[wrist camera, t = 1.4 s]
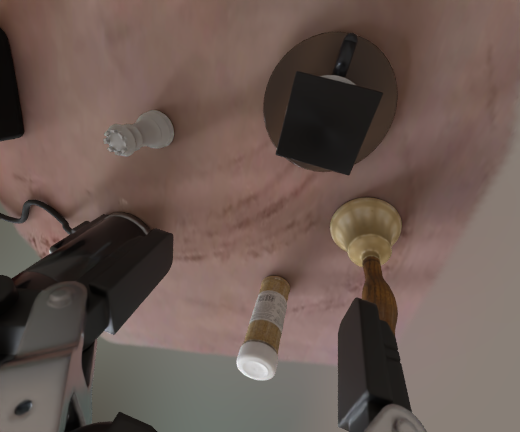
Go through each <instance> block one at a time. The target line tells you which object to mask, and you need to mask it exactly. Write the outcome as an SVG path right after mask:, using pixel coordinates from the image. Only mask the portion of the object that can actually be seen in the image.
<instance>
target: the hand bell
mask: <svg viewBox="0 0 520 432" xmlns="http://www.w3.org/2000/svg"><path fill="white" fill-rule="evenodd" d="M401 229H402V222H401V218H400V215H399V214H398V212H397V211H396V209H395V208H394V207H393V206H391V205H390V204H389V203H387V202H385V201H383V200H380V199H376V198H358V199H354V200H351V201H349V202H347V203H345V204H344V205H342V206H341V207H340V208H339V209H338V210H337V211H336V212H335V213H334V215H333V217H332V219H331V223H330V233H331V236H332V238H333V240H334V242H335V243H336V244H337V245H338V246H339V247H340V248H341V249H343V250H344V251H346V252H348V256H349V258H350V259H351V261H352V262H354V263H355V264H356V265H358V266H361V267H363V269H364V274H365V284H364V286H363V291H362V299H363V300H366V301H369V302H372V303H375V304H376V305H377V307H378V313H379V319H380V320H383V321H386V322H387V323H388V325H389V326H390V328H391V330H392V331H393V333H394V335H395V327H396V323H397V317H398V311H397V305H396V301H395V297H394V295H393V293H392V291H391V289H390V287H389V285H388V284H387V283H386V282H385V280H384V279H383V276H382V271H381V265H383V264H385V263H386V262H387V261H388V260H389V258H390V256H391V253H392V248H391V247H392V246H393V245H394V244H395V242H396V241H397V239H398V238H399V236H400V233H401Z"/></svg>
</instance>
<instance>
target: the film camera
mask: <svg viewBox="0 0 520 432" xmlns="http://www.w3.org/2000/svg"><path fill="white" fill-rule="evenodd" d="M23 134H24V131H23V123H22V115H21V109H20V103H19V97H18V90H17V85H16V79H15V73H14V67H13V62H12V58H11V52H10V47H9V43H8V38H7V36H6V35H5V33H4V31H3V30H2V29H1V28H0V141H4V140H10V139H15V138H19V137H21V136H22V135H23Z"/></svg>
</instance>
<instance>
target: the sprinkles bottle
mask: <svg viewBox="0 0 520 432" xmlns="http://www.w3.org/2000/svg"><path fill="white" fill-rule="evenodd" d="M289 292H290V286H289V284H288V282H287V281H286V280H284V279H283V278H281V277H279V276H269V277H266V278H265V279H264V280H263V281H262V283H261V289H260V292H259V295H258V298H257V301H256V304H255V307H254V310H253V313H252V317H251V320H250V323H249V327H248V330H247V333H246V337H245V341H244V343H243V344H242V346H241V348H240V351H239V354H238V357H237V366H238V369H239V370H240V371H241V372H242V373H243V374H244V375H246V376H248V377H249V378H252V379H255V380H268V379H270V378H272V377H273V376H274V375H275V373H276V368H277V363H278V348H279V343H280V338H281V334H282V329H283V323H284V318H285V313H286V307H287V300H288V294H289Z"/></svg>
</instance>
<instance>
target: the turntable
mask: <svg viewBox="0 0 520 432" xmlns="http://www.w3.org/2000/svg"><path fill="white" fill-rule="evenodd" d="M347 34H349V33H345V32H328V33H322V34H319V35H316V36H313V37H310V38H308V39H306V40H304V41H302V42H301V43H299V44H298V45H296V46H295V47H294V48H292V49H291V50H290V51H289V52H288V53H287V54H286V55H285V56H284V57H283V58H282V59H281V60H280V62H279V63H278V65H277V66H276V68H275V69H274V71H273V73H272V75H271V77H270V79H269V82H268V84H267V88H266V92H265V97H264V110H263V112H264V121H265V125H266V129H267V132H268V135H269V137H270V139H271V141H272V143H273V144H274V146H275V147H276V149H277V146H278V142H279V138H280V134H281V130H282V126H283V122H284V118H285V113H286V109H287V106H288V102H289V98H290V94H291V90H292V86H293V82H294V78H295V74H296V71H300V72H305V73H309V74H313V75H317V76H324V75H332V73H333V70H334V67H335V64H336V60H337V57H338V54H339V51H340V48H341V45H342V42H343V39H344V37H345V36H346V35H347ZM356 36H357V38H358V42H357V45H356V48H355V51H354V54H353V57H352V60H351V63H350V66H349V69H348V72H347V75H346V79H348V80H350V81H352V82H353V83H354V84H356V85H357V86H361V87H365V88H369V89H373V90H377V91H380V92H383V95H382V98H381V100H380V103H379V105H378V107H377V110H376V112H375V115H374V117H373V120H372V122H371V124H370V127H369V129H368V132H367V134H366V136H365V139H364V141H363V144H362V146H361V148H360V151H359V153H358V156H357V158H356V160H355V163H354V164H356V163H358V162H359V161H361V160H363V159H364V158H365V157H367V156H368V155H369V154H370V153H371V152H372V151H374V150H375V149H376V147H377V146H378V145H379V144H380V143H381V141H382V140H383V139H384V137H385V136H386V134H387V132H388V130H389V128H390V126H391V124H392V121H393V118H394V115H395V111H396V105H397V85H396V79H395V76H394V72H393V69H392V67H391V65H390V63H389V61H388V60H387V58H386V57H385V55H384V54H383V53H382V52H381V51H380V50H379V49H378V48H377V47H376V46H375V45H374V44H373V43H371V42H370V41H368V40H366V39H364V38H363V37H361V36H358V35H356ZM286 159H287V160H289V161H290V162H292V163H293V164H295V165H297V166H299V167H301V168H304V169H307V170H312V171H319V172H330V171H331V170H328V169H324V168H321V167H317V166H313V165H310V164H306V163H303V162H299V161H296V160H292V159H289V158H286Z"/></svg>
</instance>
